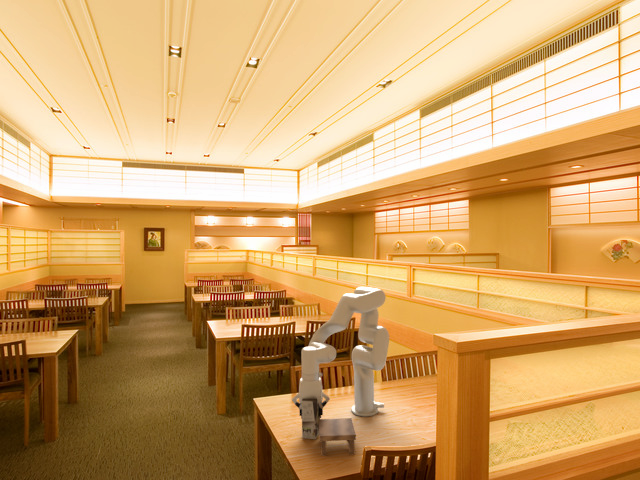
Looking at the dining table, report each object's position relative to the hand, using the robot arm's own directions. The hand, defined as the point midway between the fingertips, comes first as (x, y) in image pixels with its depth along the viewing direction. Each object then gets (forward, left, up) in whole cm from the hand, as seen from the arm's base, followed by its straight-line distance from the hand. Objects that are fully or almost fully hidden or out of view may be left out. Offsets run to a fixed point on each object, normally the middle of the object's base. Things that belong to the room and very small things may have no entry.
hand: (311, 416), depth 169 cm
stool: (-10, +11, -7) cm, 17 cm away
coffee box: (0, 0, -8) cm, 8 cm away
